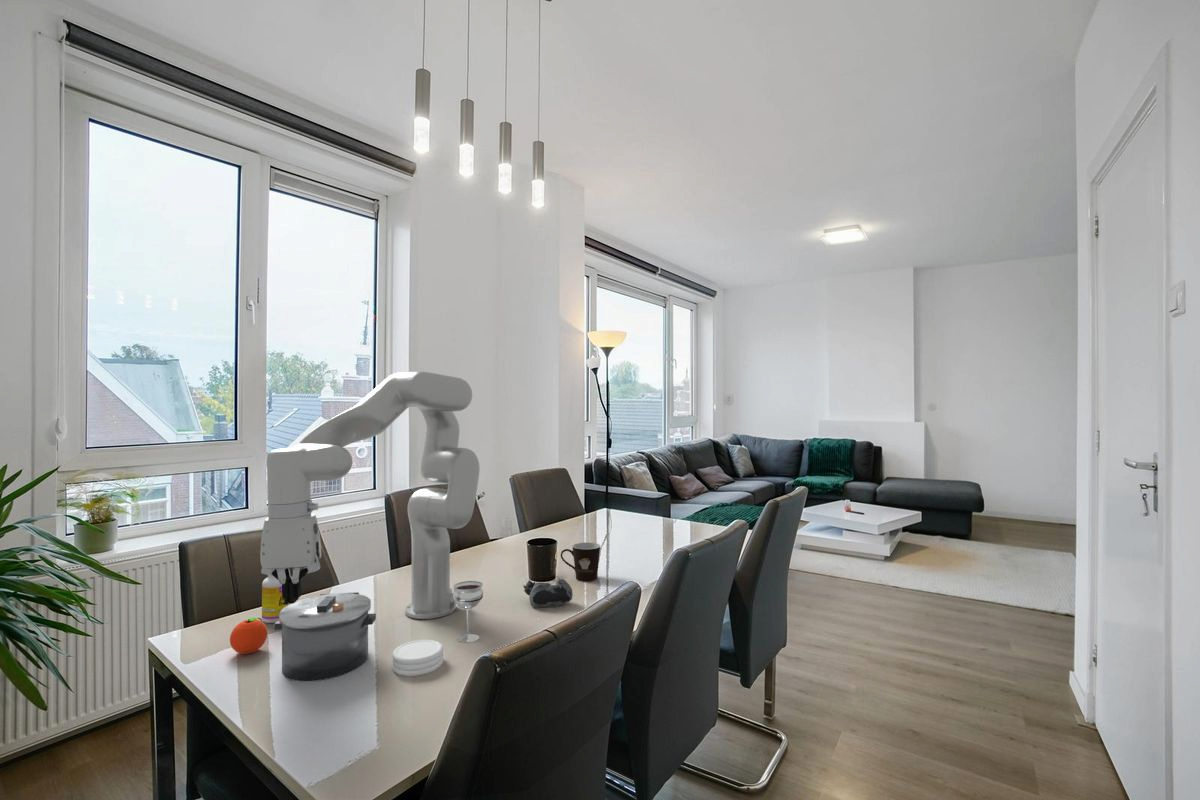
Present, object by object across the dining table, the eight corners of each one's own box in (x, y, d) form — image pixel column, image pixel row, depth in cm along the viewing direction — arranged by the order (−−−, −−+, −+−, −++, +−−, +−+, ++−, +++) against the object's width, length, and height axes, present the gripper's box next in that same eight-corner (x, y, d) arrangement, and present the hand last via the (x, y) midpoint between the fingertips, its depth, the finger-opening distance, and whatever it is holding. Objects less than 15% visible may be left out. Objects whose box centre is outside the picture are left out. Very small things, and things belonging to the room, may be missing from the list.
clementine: (246, 643, 126) (247, 611, 126) (277, 643, 126) (277, 611, 126) (221, 659, 118) (221, 625, 118) (254, 659, 118) (254, 625, 118)
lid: (299, 599, 124) (299, 588, 124) (379, 595, 127) (379, 585, 127) (264, 631, 107) (264, 618, 107) (358, 626, 110) (358, 613, 110)
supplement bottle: (278, 625, 136) (278, 571, 137) (255, 623, 138) (255, 570, 138) (298, 615, 143) (298, 564, 143) (276, 613, 144) (276, 562, 144)
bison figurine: (574, 607, 149) (565, 593, 158) (574, 581, 148) (565, 568, 158) (528, 613, 145) (523, 598, 155) (528, 586, 145) (523, 573, 155)
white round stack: (425, 651, 122) (425, 634, 122) (453, 664, 116) (453, 647, 116) (382, 667, 115) (382, 650, 115) (409, 682, 108) (409, 664, 108)
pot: (382, 643, 126) (382, 598, 126) (363, 677, 110) (363, 625, 110) (292, 648, 123) (293, 602, 123) (259, 684, 107) (260, 631, 107)
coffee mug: (605, 577, 174) (605, 544, 174) (590, 584, 167) (590, 550, 167) (574, 571, 180) (574, 539, 181) (558, 578, 173) (558, 545, 173)
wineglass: (450, 635, 130) (450, 582, 130) (480, 630, 133) (480, 579, 133) (455, 646, 124) (455, 591, 124) (486, 641, 127) (486, 587, 127)
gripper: (335, 505, 118) (337, 592, 118) (258, 508, 115) (260, 597, 116) (323, 512, 110) (325, 606, 110) (240, 516, 108) (242, 611, 108)
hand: (291, 601), depth 113 cm, fingers closed
